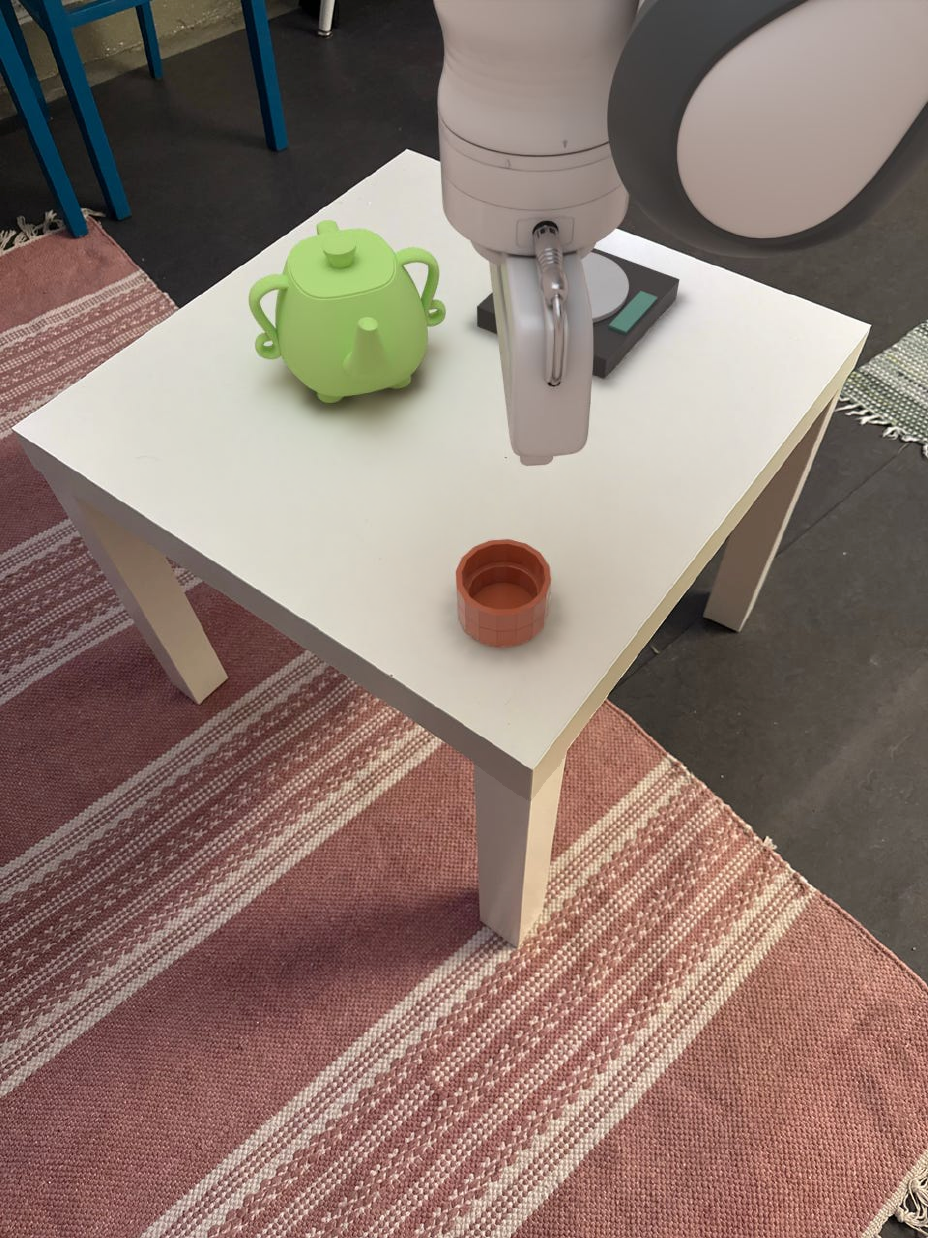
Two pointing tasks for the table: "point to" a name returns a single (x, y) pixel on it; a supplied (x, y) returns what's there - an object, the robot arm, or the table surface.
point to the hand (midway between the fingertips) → (527, 398)
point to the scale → (613, 305)
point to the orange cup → (503, 592)
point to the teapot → (348, 312)
